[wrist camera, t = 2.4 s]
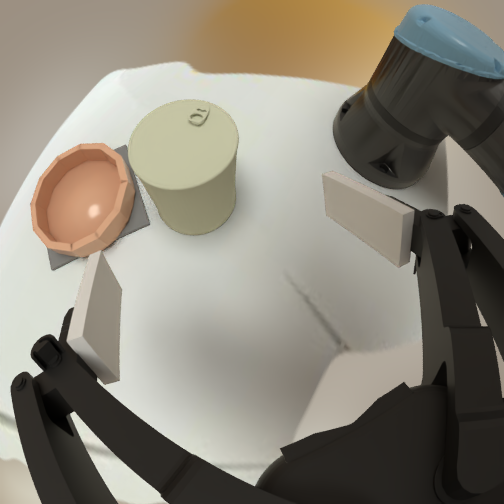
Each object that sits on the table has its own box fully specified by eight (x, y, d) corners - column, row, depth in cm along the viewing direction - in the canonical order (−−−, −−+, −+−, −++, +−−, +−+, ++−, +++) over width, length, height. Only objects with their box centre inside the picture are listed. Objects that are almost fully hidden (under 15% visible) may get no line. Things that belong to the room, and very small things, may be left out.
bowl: (122, 142, 33) (114, 127, 30) (148, 229, 31) (139, 219, 27) (41, 184, 31) (28, 173, 28) (54, 273, 29) (39, 268, 25)
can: (248, 179, 33) (258, 114, 22) (214, 249, 31) (204, 206, 20) (181, 153, 34) (164, 85, 22) (142, 216, 32) (104, 164, 20)
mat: (126, 146, 34) (125, 144, 33) (150, 224, 31) (149, 223, 31) (41, 190, 31) (39, 189, 31) (53, 270, 29) (51, 269, 29)
